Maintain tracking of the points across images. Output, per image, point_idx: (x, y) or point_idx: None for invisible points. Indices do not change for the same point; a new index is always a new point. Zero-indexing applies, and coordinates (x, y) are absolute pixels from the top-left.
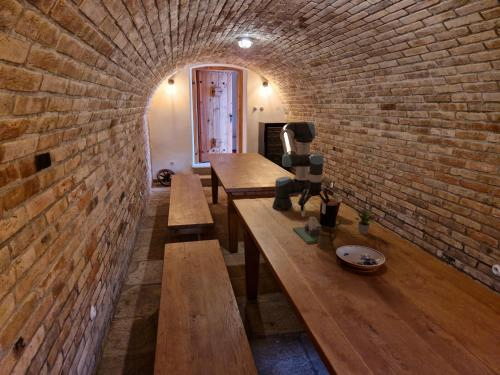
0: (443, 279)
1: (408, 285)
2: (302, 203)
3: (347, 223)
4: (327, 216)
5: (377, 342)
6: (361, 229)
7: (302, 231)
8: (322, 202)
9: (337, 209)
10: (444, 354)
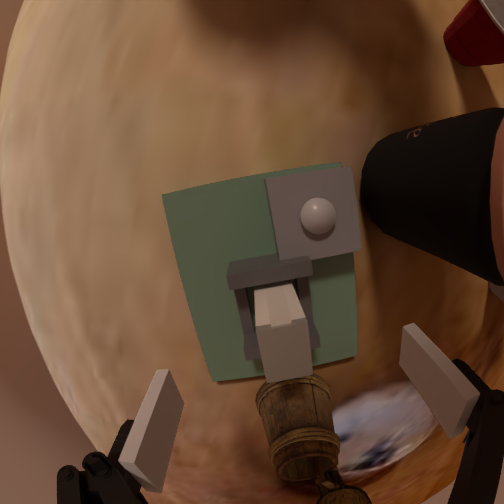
0: (442, 471)
1: (376, 498)
2: (118, 487)
3: None
4: (438, 256)
5: None
6: (501, 298)
7: (214, 259)
8: (466, 402)
9: (499, 63)
10: None
